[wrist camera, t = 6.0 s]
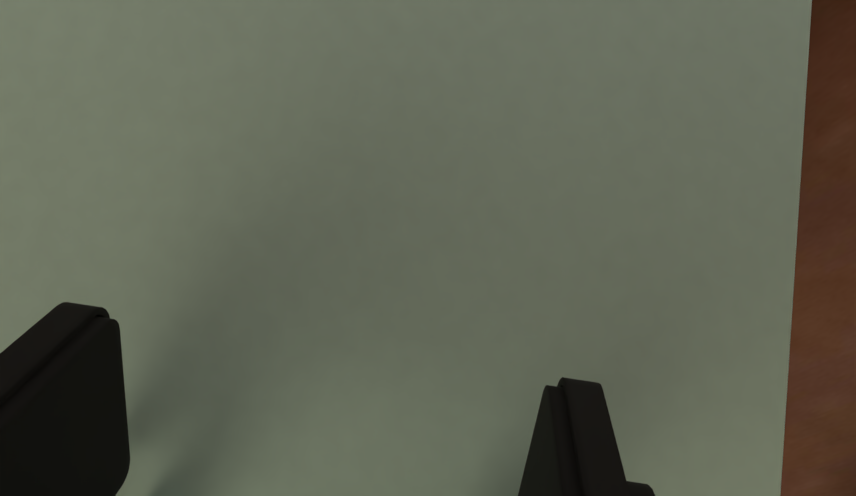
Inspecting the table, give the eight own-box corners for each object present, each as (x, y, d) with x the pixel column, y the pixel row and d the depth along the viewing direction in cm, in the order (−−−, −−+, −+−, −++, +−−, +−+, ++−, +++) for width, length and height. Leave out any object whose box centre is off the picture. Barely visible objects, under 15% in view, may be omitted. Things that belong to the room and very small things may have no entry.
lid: (739, 758, 11) (993, 1095, 6) (-128, 620, 11) (-560, 830, 6) (800, -146, 13) (1018, -437, 8) (84, -235, 14) (-111, -563, 9)
